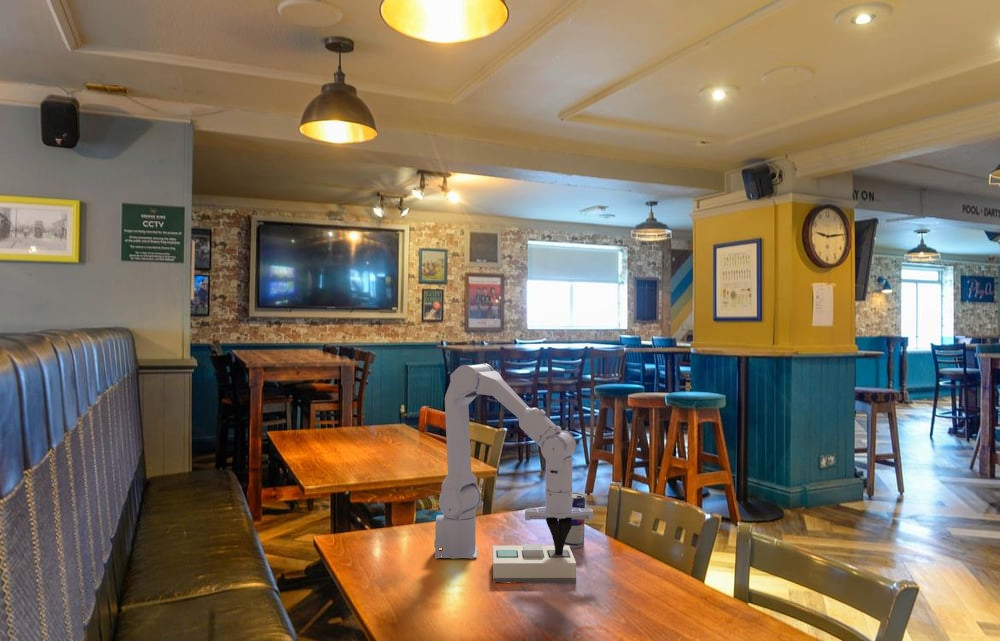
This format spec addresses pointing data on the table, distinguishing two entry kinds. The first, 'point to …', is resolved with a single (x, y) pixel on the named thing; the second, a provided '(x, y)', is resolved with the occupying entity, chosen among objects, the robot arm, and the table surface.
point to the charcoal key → (553, 555)
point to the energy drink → (576, 524)
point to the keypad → (533, 567)
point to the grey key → (532, 551)
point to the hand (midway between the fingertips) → (558, 553)
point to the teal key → (507, 554)
